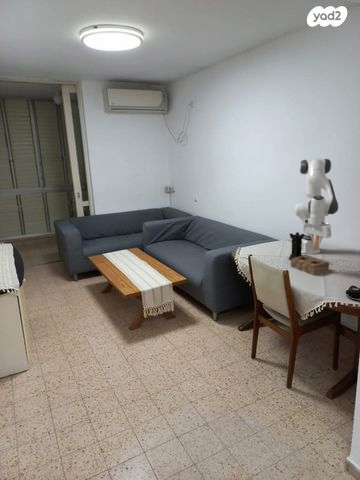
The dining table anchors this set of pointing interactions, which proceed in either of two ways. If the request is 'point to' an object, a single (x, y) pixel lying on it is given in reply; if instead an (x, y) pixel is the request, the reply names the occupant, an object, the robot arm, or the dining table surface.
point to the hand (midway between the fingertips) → (316, 241)
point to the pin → (316, 243)
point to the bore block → (310, 264)
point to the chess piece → (296, 245)
